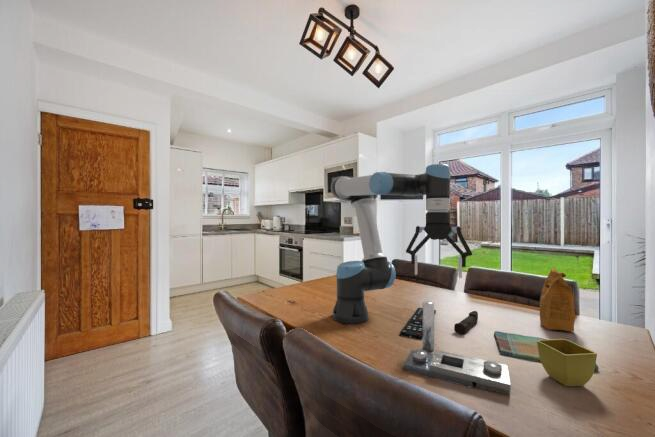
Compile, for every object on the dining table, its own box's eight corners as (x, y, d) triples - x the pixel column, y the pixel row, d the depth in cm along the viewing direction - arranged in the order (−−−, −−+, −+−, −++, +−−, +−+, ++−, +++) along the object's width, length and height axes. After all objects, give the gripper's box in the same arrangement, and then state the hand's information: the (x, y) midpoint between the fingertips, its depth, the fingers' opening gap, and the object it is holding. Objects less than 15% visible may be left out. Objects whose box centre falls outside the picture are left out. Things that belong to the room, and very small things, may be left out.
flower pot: (535, 372, 76) (535, 339, 76) (565, 370, 77) (564, 338, 77) (565, 392, 67) (565, 355, 67) (598, 390, 68) (598, 353, 68)
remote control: (399, 337, 100) (399, 331, 100) (418, 310, 128) (418, 306, 128) (421, 341, 96) (421, 335, 96) (435, 313, 124) (435, 309, 124)
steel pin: (421, 350, 89) (421, 303, 89) (423, 345, 92) (423, 300, 92) (433, 352, 87) (433, 304, 87) (435, 348, 90) (434, 302, 90)
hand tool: (465, 336, 100) (465, 323, 100) (453, 332, 103) (453, 320, 103) (484, 323, 112) (484, 311, 112) (473, 320, 115) (473, 309, 115)
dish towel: (600, 375, 76) (600, 365, 76) (500, 357, 85) (500, 348, 85) (576, 348, 91) (576, 340, 91) (493, 335, 101) (493, 328, 101)
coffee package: (568, 323, 111) (567, 268, 111) (578, 335, 100) (577, 274, 100) (537, 319, 115) (536, 266, 115) (543, 330, 104) (543, 271, 104)
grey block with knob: (429, 376, 74) (429, 359, 74) (435, 359, 83) (435, 344, 83) (510, 397, 65) (510, 378, 65) (507, 376, 74) (507, 359, 74)
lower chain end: (403, 369, 78) (403, 357, 78) (411, 354, 86) (411, 342, 86) (472, 387, 69) (472, 373, 69) (473, 368, 78) (473, 356, 78)
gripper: (397, 211, 93) (397, 275, 93) (482, 211, 84) (482, 280, 84) (400, 212, 100) (400, 270, 100) (478, 211, 91) (478, 276, 91)
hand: (437, 275), depth 92 cm, fingers open, 13 cm apart
